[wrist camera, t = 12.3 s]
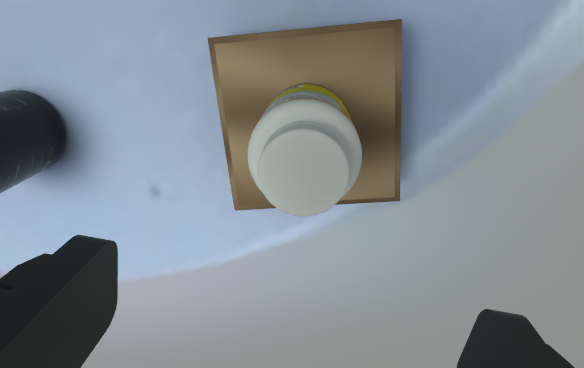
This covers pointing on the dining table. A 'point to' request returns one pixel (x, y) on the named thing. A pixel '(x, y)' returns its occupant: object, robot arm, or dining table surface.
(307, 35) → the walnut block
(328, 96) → the supplement bottle
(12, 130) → the supplement bottle
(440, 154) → the dining table surface
